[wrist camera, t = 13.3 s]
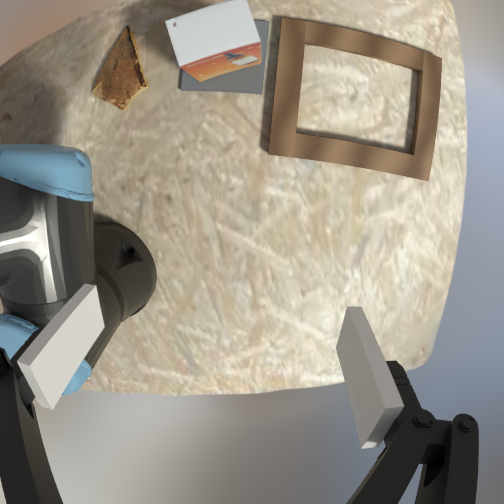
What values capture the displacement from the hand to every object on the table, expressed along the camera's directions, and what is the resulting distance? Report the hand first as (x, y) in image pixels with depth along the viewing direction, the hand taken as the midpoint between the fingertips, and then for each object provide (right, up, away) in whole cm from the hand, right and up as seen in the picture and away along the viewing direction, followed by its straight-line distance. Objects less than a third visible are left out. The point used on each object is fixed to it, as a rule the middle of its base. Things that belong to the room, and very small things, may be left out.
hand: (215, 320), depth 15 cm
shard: (-16, +28, +19) cm, 37 cm away
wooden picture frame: (+16, +23, +19) cm, 33 cm away
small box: (-2, +28, +17) cm, 32 cm away
